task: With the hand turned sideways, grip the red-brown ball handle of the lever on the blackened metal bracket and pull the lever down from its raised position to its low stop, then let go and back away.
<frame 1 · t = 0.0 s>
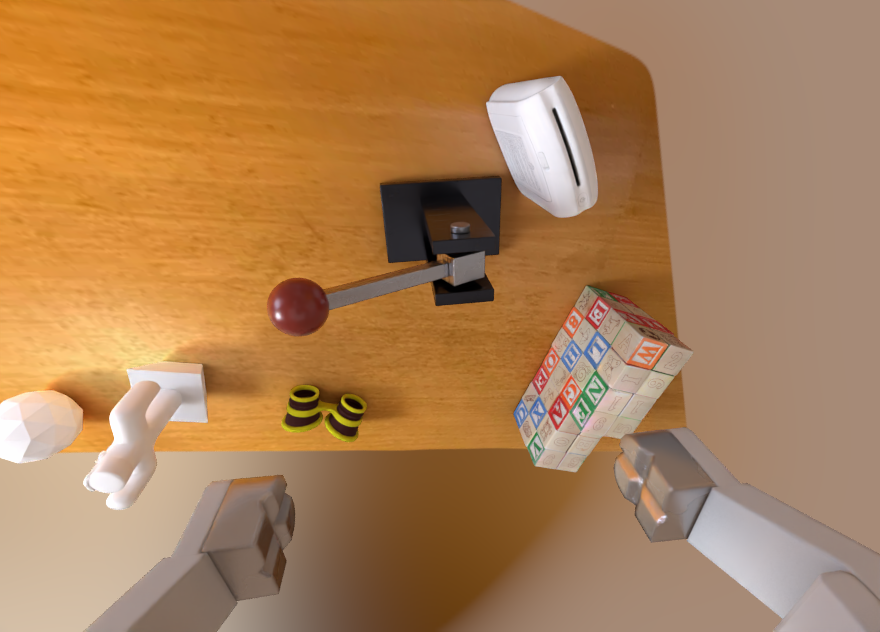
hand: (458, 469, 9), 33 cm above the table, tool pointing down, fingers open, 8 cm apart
geometric ball: (62, 401, 46), on the table
photo printer: (519, 141, 37), on the table
stack of blocks: (565, 358, 51), on the table
bracket: (441, 219, 40), on the table
figurine: (185, 376, 46), on the table
lever: (385, 283, 26), point 16 cm above the table, hinge at 25.0°
opera glasses: (328, 399, 50), on the table
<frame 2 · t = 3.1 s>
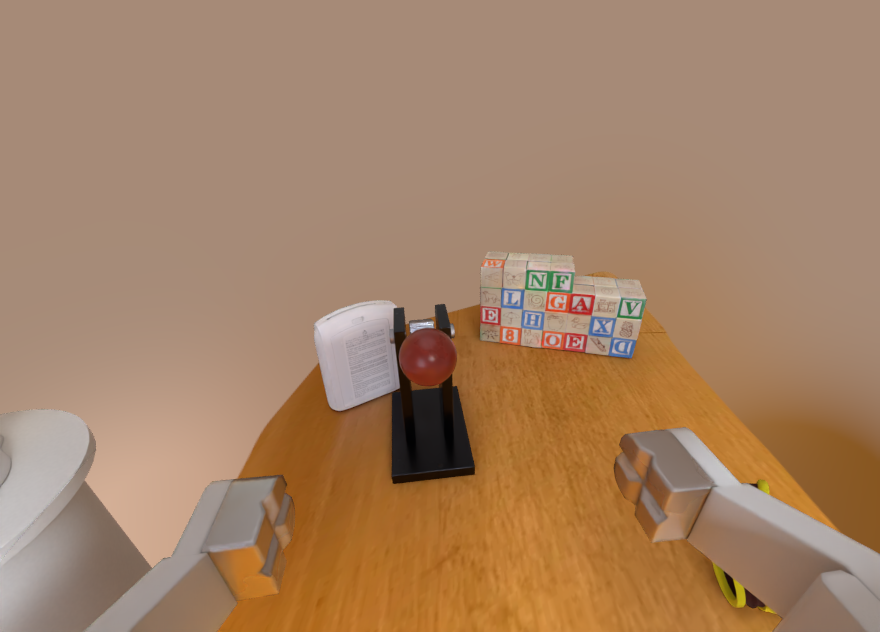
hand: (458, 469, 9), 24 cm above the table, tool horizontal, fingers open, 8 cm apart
photo printer: (369, 392, 48), on the table
stack of blocks: (552, 339, 57), on the table
bracket: (429, 432, 42), on the table
lever: (424, 343, 29), point 16 cm above the table, hinge at 25.0°
opera glasses: (736, 556, 30), on the table
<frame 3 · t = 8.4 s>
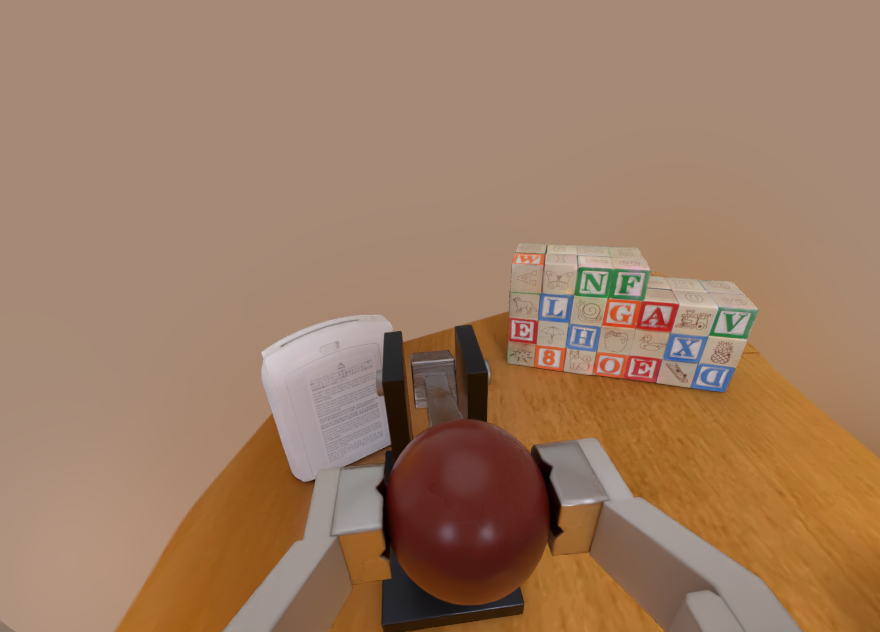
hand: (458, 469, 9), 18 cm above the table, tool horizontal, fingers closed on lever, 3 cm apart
photo printer: (352, 447, 33), on the table
stack of blocks: (604, 362, 42), on the table
bracket: (442, 523, 27), on the table
lever: (443, 415, 14), point 16 cm above the table, hinge at 25.0°, touching gripper
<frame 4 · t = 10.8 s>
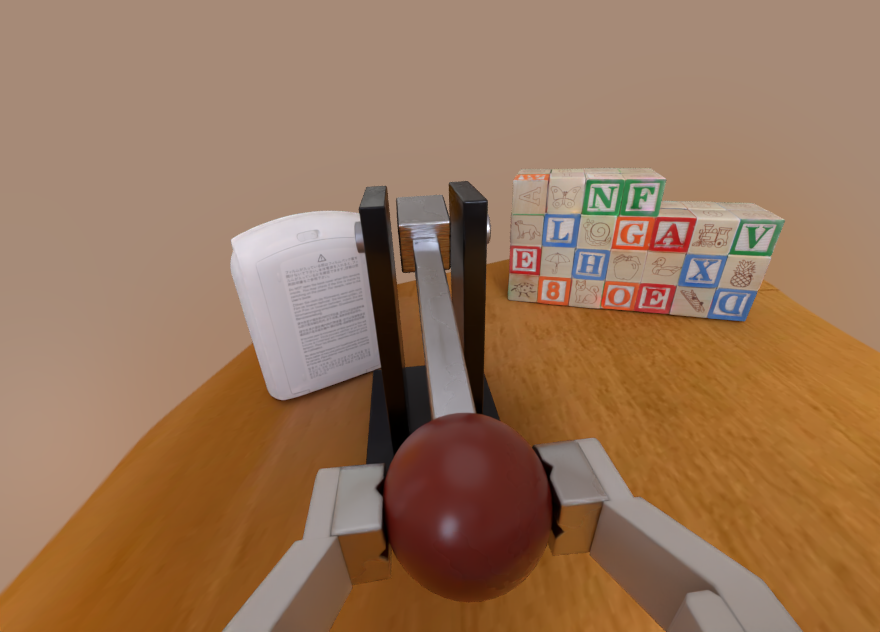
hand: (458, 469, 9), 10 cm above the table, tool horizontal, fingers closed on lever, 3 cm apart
photo printer: (338, 372, 30), on the table
stack of blocks: (613, 299, 39), on the table
bracket: (435, 437, 24), on the table
lever: (437, 322, 13), point 12 cm above the table, hinge at -11.6°, touching gripper
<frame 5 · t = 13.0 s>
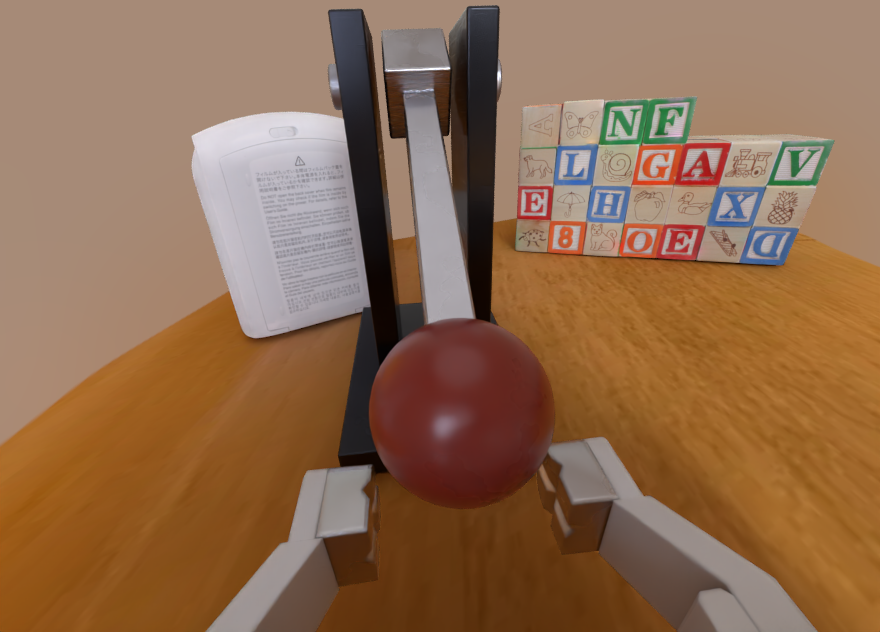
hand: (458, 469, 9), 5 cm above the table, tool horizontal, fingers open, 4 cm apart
photo printer: (324, 315, 27), on the table
stack of blocks: (631, 249, 36), on the table
bracket: (433, 372, 20), on the table
lever: (432, 204, 10), point 10 cm above the table, hinge at -30.2°
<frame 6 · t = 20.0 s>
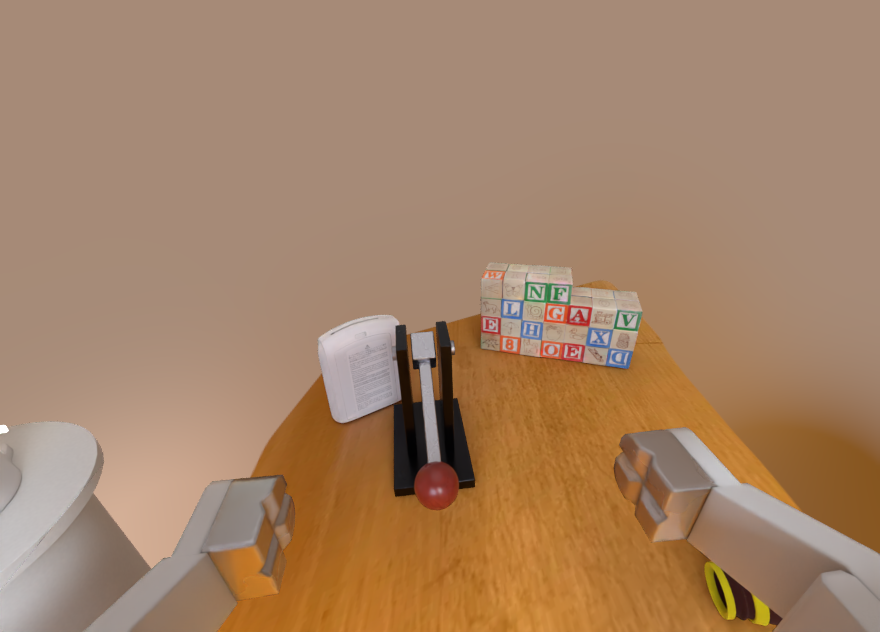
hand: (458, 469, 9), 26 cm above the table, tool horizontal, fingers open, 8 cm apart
photo printer: (371, 404, 49), on the table
stack of blocks: (551, 348, 59), on the table
bracket: (430, 445, 43), on the table
lever: (429, 413, 33), point 10 cm above the table, hinge at -30.2°
opera glasses: (728, 568, 31), on the table
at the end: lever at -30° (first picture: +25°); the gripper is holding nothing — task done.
